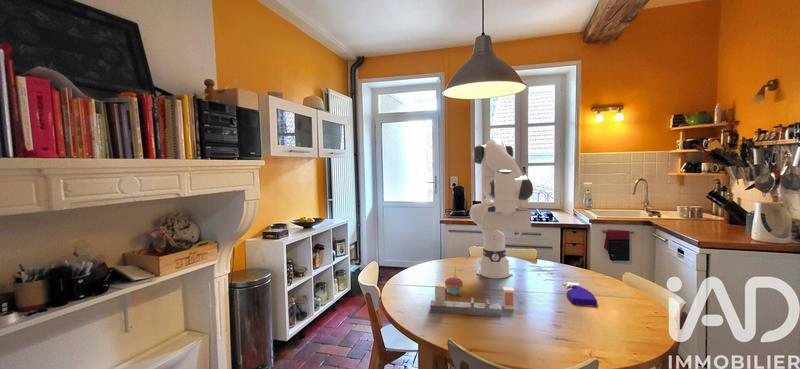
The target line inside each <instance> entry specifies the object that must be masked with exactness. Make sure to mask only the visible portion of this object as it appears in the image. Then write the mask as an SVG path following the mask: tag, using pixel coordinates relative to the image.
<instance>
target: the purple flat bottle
mask: <svg viewBox="0 0 800 369" xmlns="http://www.w3.org/2000/svg"><path fill="white" fill-rule="evenodd" d="M562 285H565V287H566V288H567V287H570V288H571V289H568V290H567V291H566V296H567V299H568V300H569V301H570V302H571V303H572V304H574V305H576V306H577V305H578V306H588V305H593V306H592V307H596V306H597V305H598V300H597V298H596V297H595V295H594V294H593V293H592V292H591V291H589V290H588V289H586V288H583V287H582V286H581V283H578V282H569V281H568V282H562Z"/></svg>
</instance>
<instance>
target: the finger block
mask: <svg viewBox="0 0 800 369" xmlns="http://www.w3.org/2000/svg"><path fill="white" fill-rule="evenodd" d="M502 306H503V309H504V310H515V290H514V287H513V286H502Z"/></svg>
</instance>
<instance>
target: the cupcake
mask: <svg viewBox="0 0 800 369" xmlns="http://www.w3.org/2000/svg"><path fill="white" fill-rule="evenodd" d="M456 272H457V268H456V266H455V267H454V271H453V273H454V275H453V277H449V278H447V279H446V280H445V281H444V283H445V286H447V293H448V294H449V293H450V295H452V294H453V296H454V295H455V296H456V295H458V294H460V290H461V288H463V285H464V283H463V281H462V279H460V278H458V277H456V274H457V273H456Z"/></svg>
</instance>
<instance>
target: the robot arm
mask: <svg viewBox="0 0 800 369" xmlns="http://www.w3.org/2000/svg"><path fill="white" fill-rule="evenodd" d="M514 154H515V152H514V149H513V146H512V145H511V144H508V143H504V142H503V140H502V139H500V138H496V137H494V138H491V139H489V140H487V142H486V144H478V145H476V146H474V147H473V150H472V154H471V155H472V156H471V157H472V159H473V163H475V164H477V165H483V168H482V174H481V182H482V185H481V186H482V194H483V195H484V197H486V198H488V199H490V200H492V202H493V203H492V202H490V203H489V202H487V203H486V202H484V203H483V202H482V203H477V204H473V205H472V206H471V207H470V209H469V217H470V219H471V221H472V222H473V223H474V224H476V225H477V227H479V229H480V230H481V233H482V238H483V248H482V257H481V258H480V259H479V262H478V263H479V267H478V269H477V271H476V275H479V276H483V277H485V278H490V279H504V278H505V279H506V278H507V277H510V276H513V272H512V271H510V260H509V259H508V258H507V251H506V250H507V249H506V237H505V234H504V233H503V232H502V231H517V233H518V234H517V235H515V236H514V238H515V239H514V240H515V241H516V242H520V237H521V235H522V234H523V231H530V230H531V229H532V223H531V222H532V221H531V217H532V210H530V209H529V208H527V207H518V206H517V200H518V201H527V200H528V199H530V198H531V197H532V196H533V193H534V192H533V191H534V187H533V182H532V181H531V179H529V177H528V176H527V175H526V172H525V171H524V168H523V167H522V166H521V164H520V162H519V160H518V159H516V158H515V157H514ZM501 230H502V231H501Z"/></svg>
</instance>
